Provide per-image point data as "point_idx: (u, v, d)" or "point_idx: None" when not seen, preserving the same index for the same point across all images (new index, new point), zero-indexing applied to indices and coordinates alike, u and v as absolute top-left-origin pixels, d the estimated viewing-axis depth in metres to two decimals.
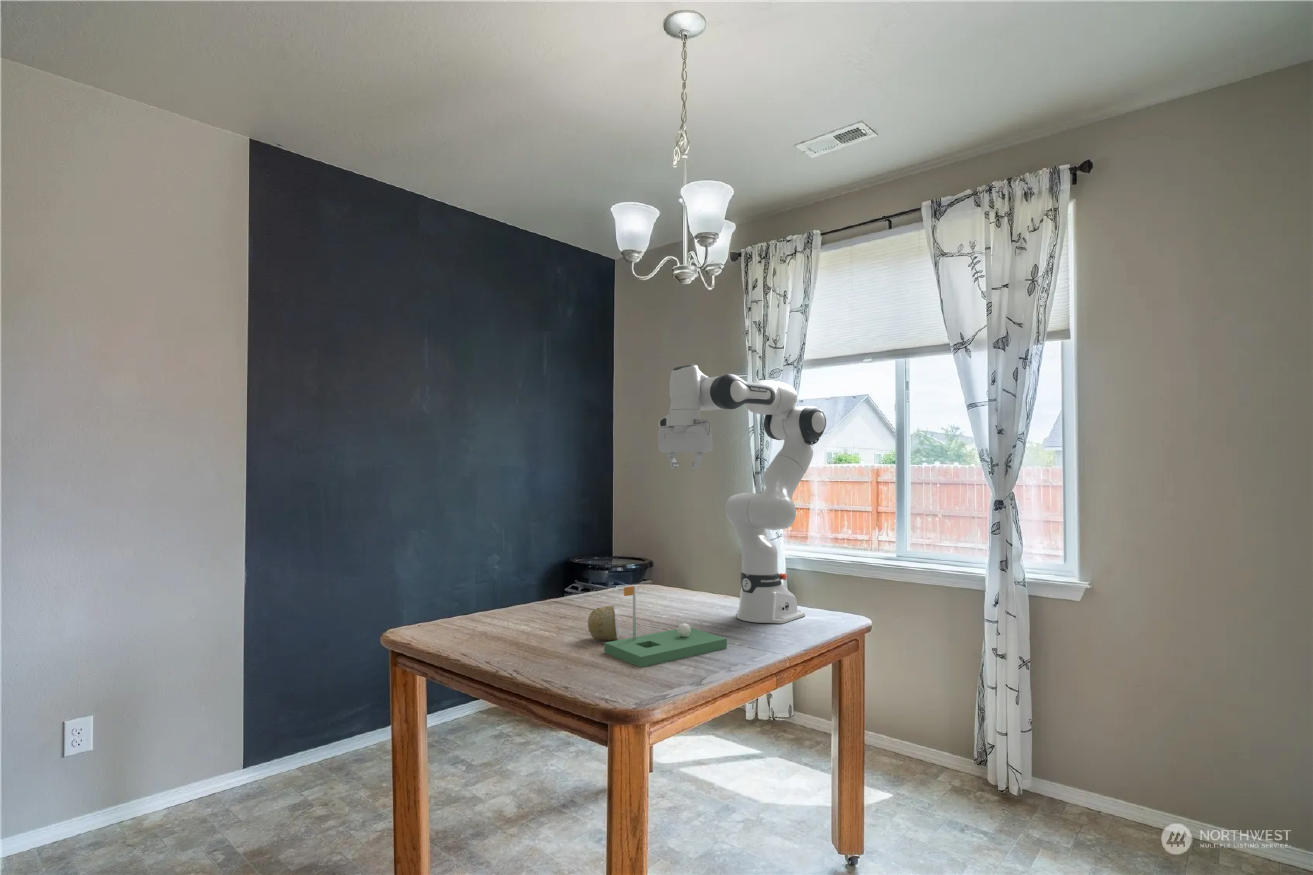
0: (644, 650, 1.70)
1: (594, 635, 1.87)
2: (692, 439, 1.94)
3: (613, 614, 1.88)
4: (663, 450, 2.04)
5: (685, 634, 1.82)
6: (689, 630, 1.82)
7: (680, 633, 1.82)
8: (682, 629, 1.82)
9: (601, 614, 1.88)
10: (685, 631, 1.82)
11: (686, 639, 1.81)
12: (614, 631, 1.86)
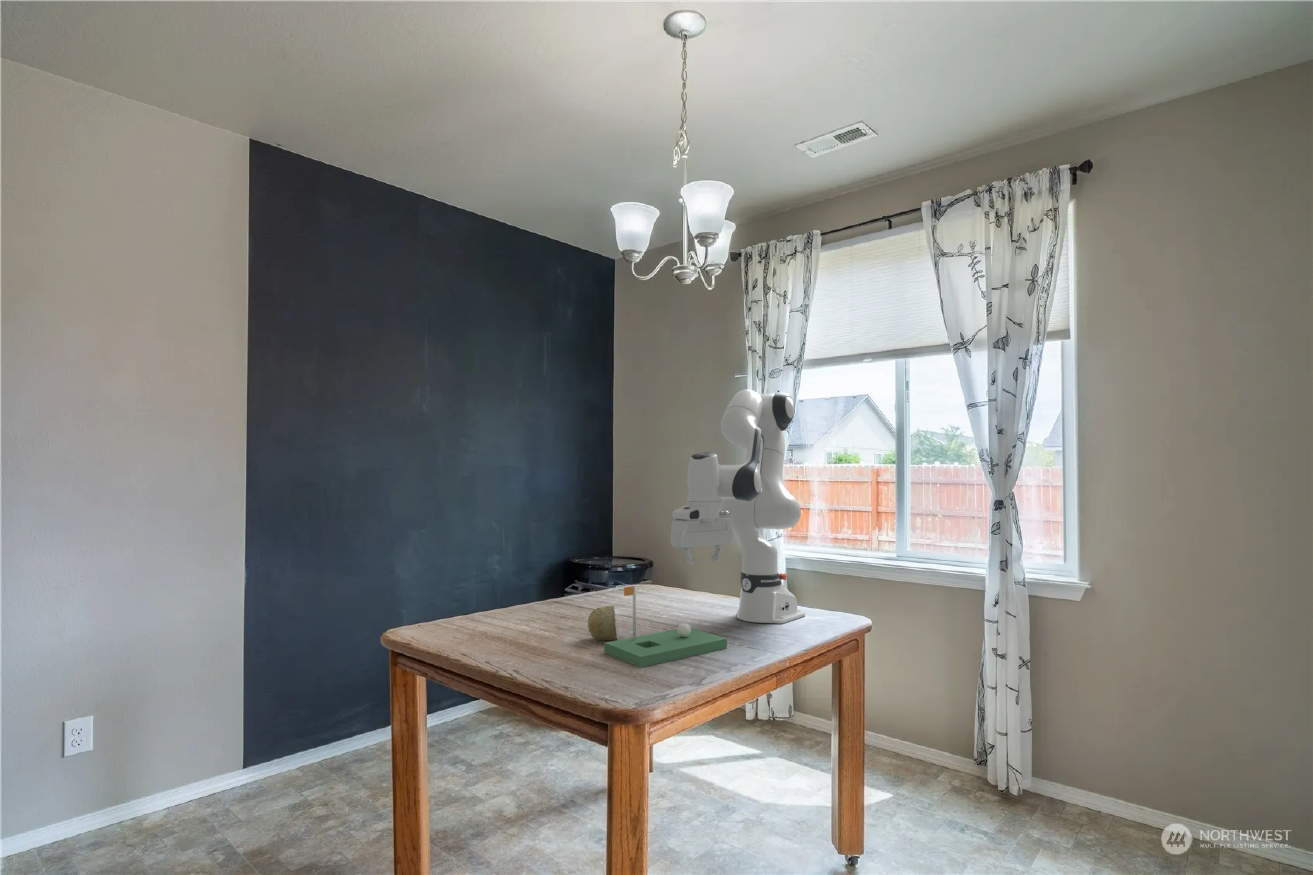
0: (644, 650, 1.70)
1: (594, 635, 1.87)
2: (721, 532, 1.90)
3: (613, 614, 1.88)
4: (686, 545, 1.83)
5: (685, 634, 1.82)
6: (689, 630, 1.82)
7: (680, 633, 1.82)
8: (682, 629, 1.82)
9: (601, 614, 1.88)
10: (685, 631, 1.82)
11: (686, 639, 1.81)
12: (614, 631, 1.86)
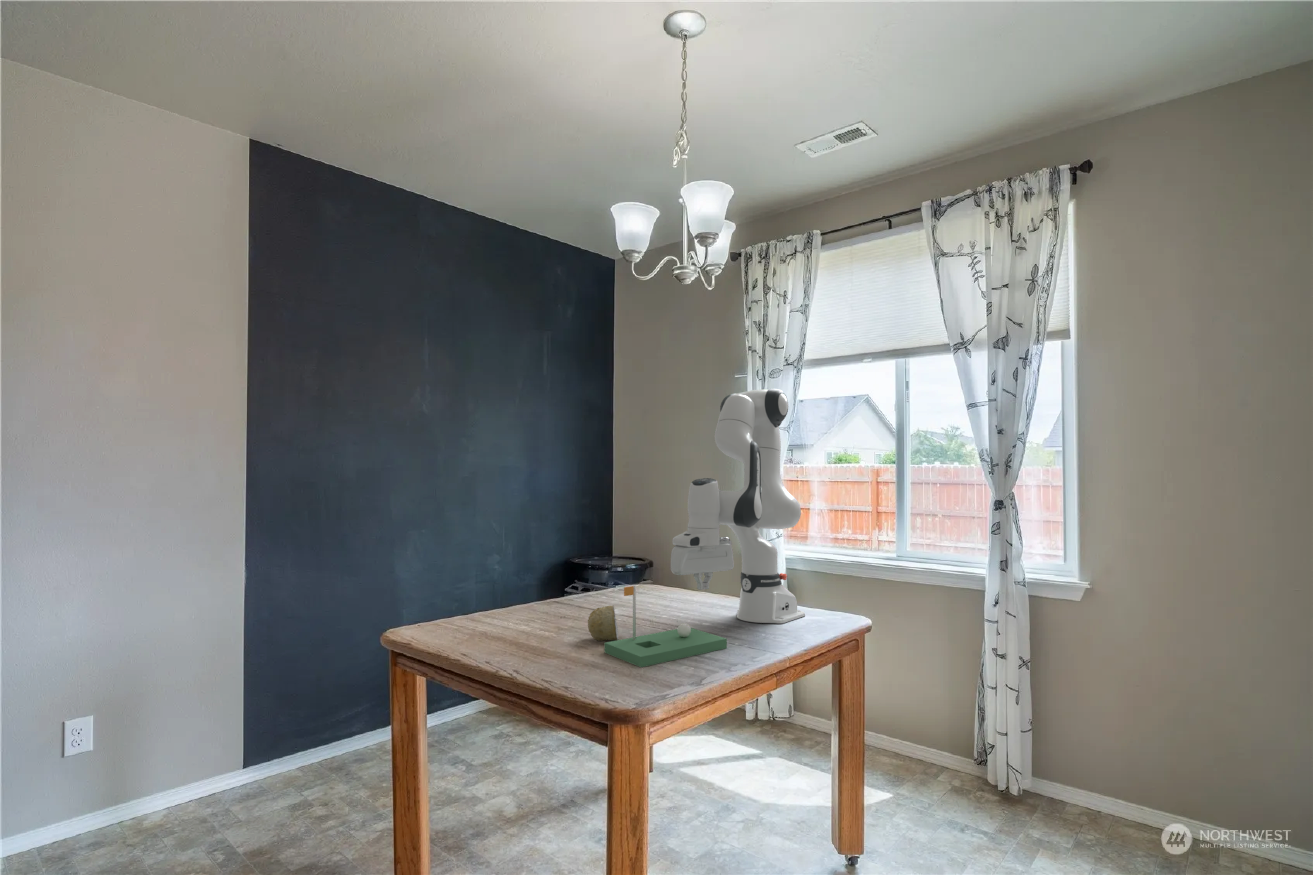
0: (644, 650, 1.70)
1: (594, 635, 1.87)
2: (721, 558, 1.90)
3: (613, 614, 1.88)
4: (686, 572, 1.82)
5: (685, 634, 1.82)
6: (689, 630, 1.82)
7: (680, 633, 1.82)
8: (682, 629, 1.82)
9: (601, 614, 1.88)
10: (685, 631, 1.82)
11: (686, 639, 1.81)
12: (614, 631, 1.86)
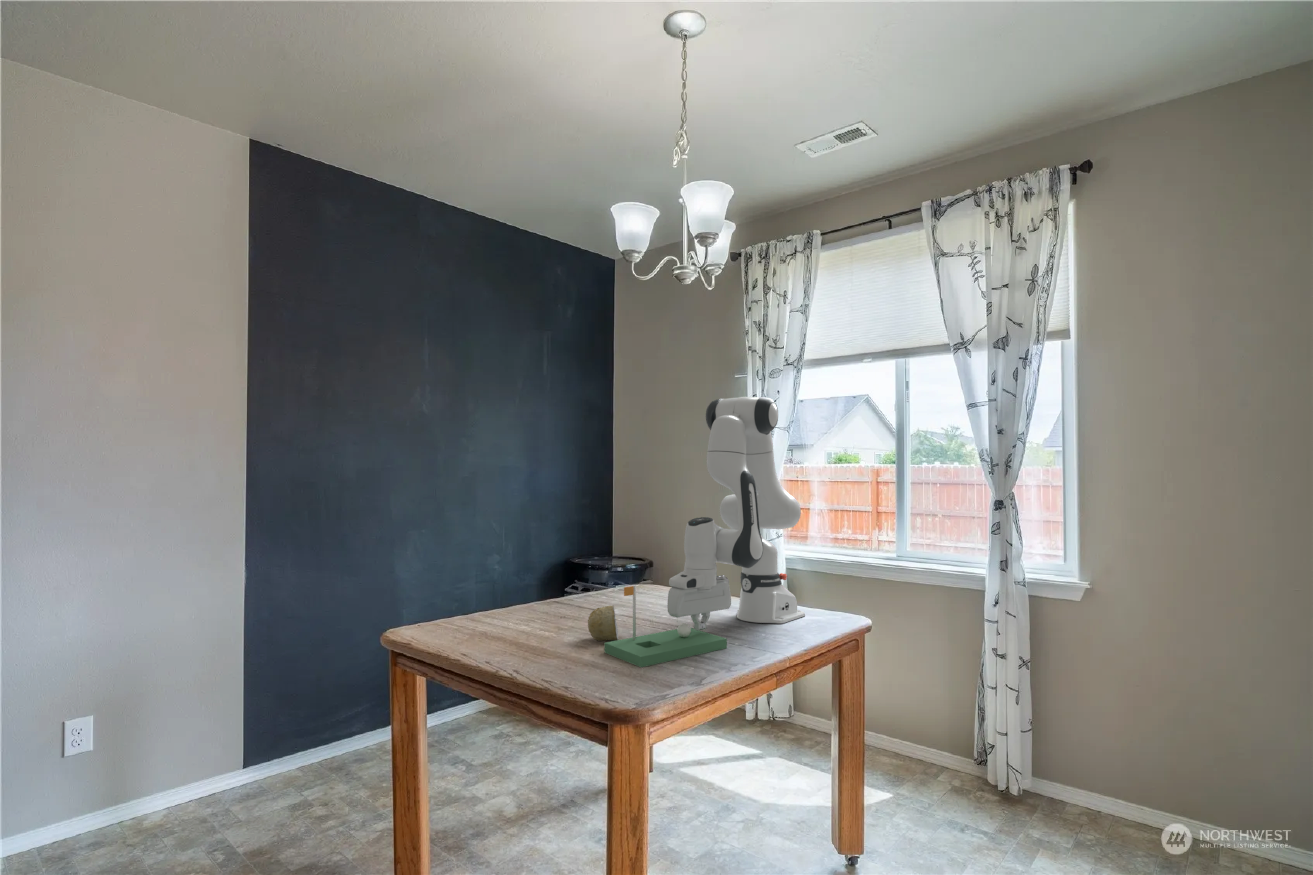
0: (644, 650, 1.70)
1: (594, 635, 1.87)
2: (719, 597, 1.89)
3: (613, 614, 1.88)
4: (683, 614, 1.81)
5: (685, 634, 1.82)
6: (689, 630, 1.82)
7: (680, 633, 1.82)
8: (682, 629, 1.82)
9: (601, 614, 1.88)
10: (685, 631, 1.82)
11: (686, 639, 1.81)
12: (614, 631, 1.86)
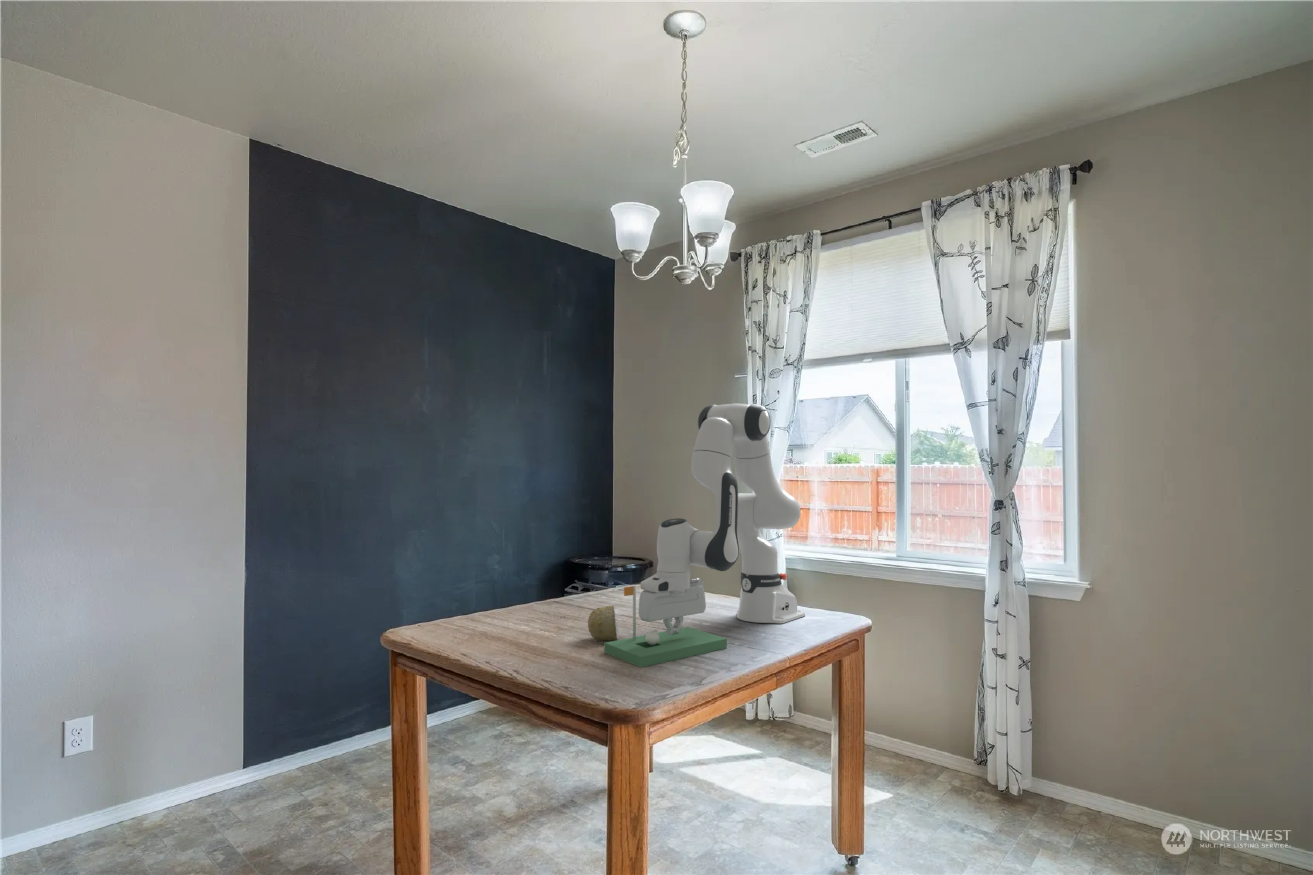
0: (644, 650, 1.70)
1: (594, 635, 1.87)
2: (692, 601, 1.83)
3: (613, 614, 1.88)
4: (654, 619, 1.75)
5: (652, 641, 1.75)
6: (658, 638, 1.76)
7: (648, 638, 1.76)
8: (651, 635, 1.75)
9: (601, 614, 1.88)
10: (654, 638, 1.75)
11: (686, 639, 1.81)
12: (614, 631, 1.86)
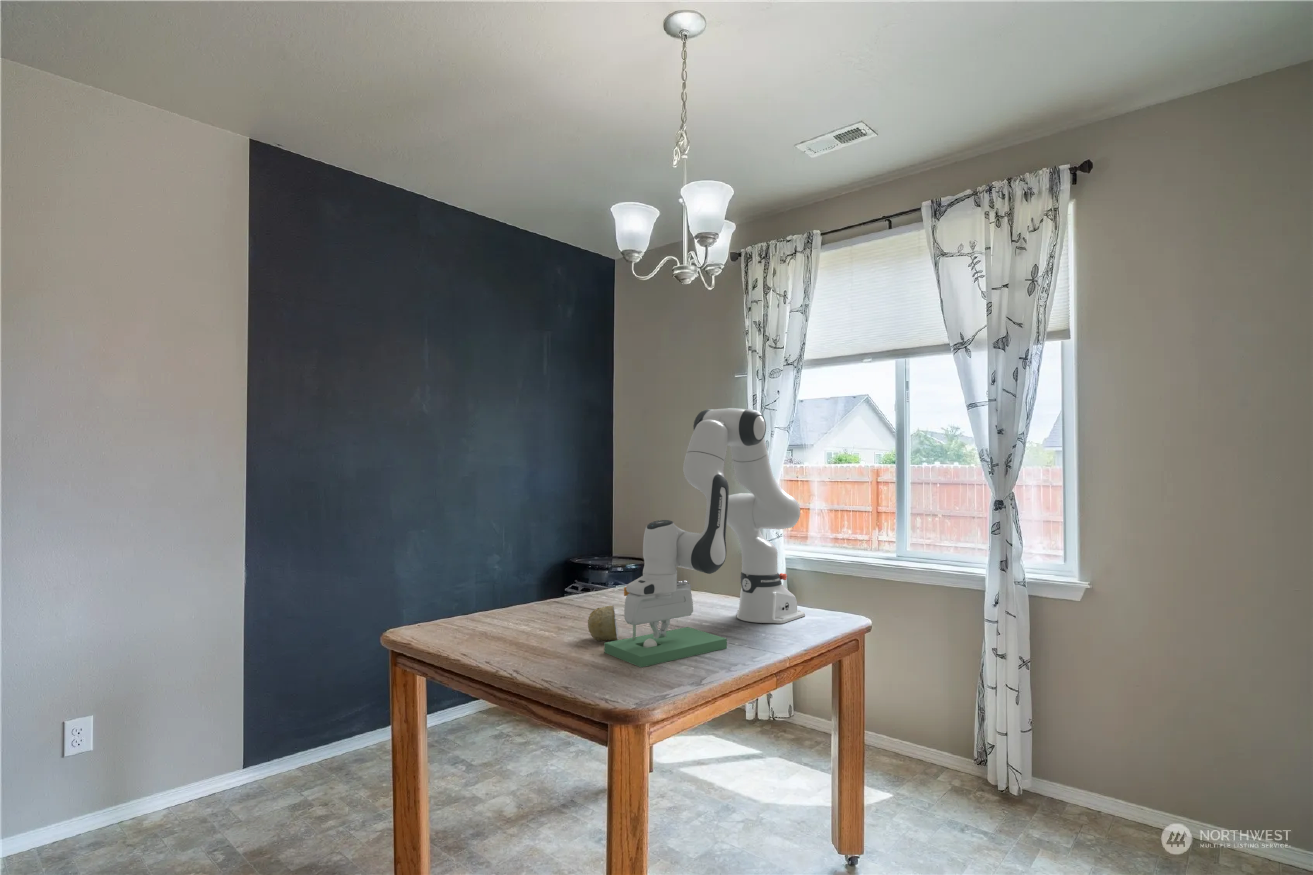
0: (644, 650, 1.70)
1: (594, 635, 1.87)
2: (679, 604, 1.80)
3: (613, 614, 1.88)
4: (640, 622, 1.73)
5: None
6: (655, 645, 1.75)
7: None
8: (648, 647, 1.75)
9: (601, 614, 1.88)
10: None
11: (686, 639, 1.81)
12: (614, 631, 1.86)
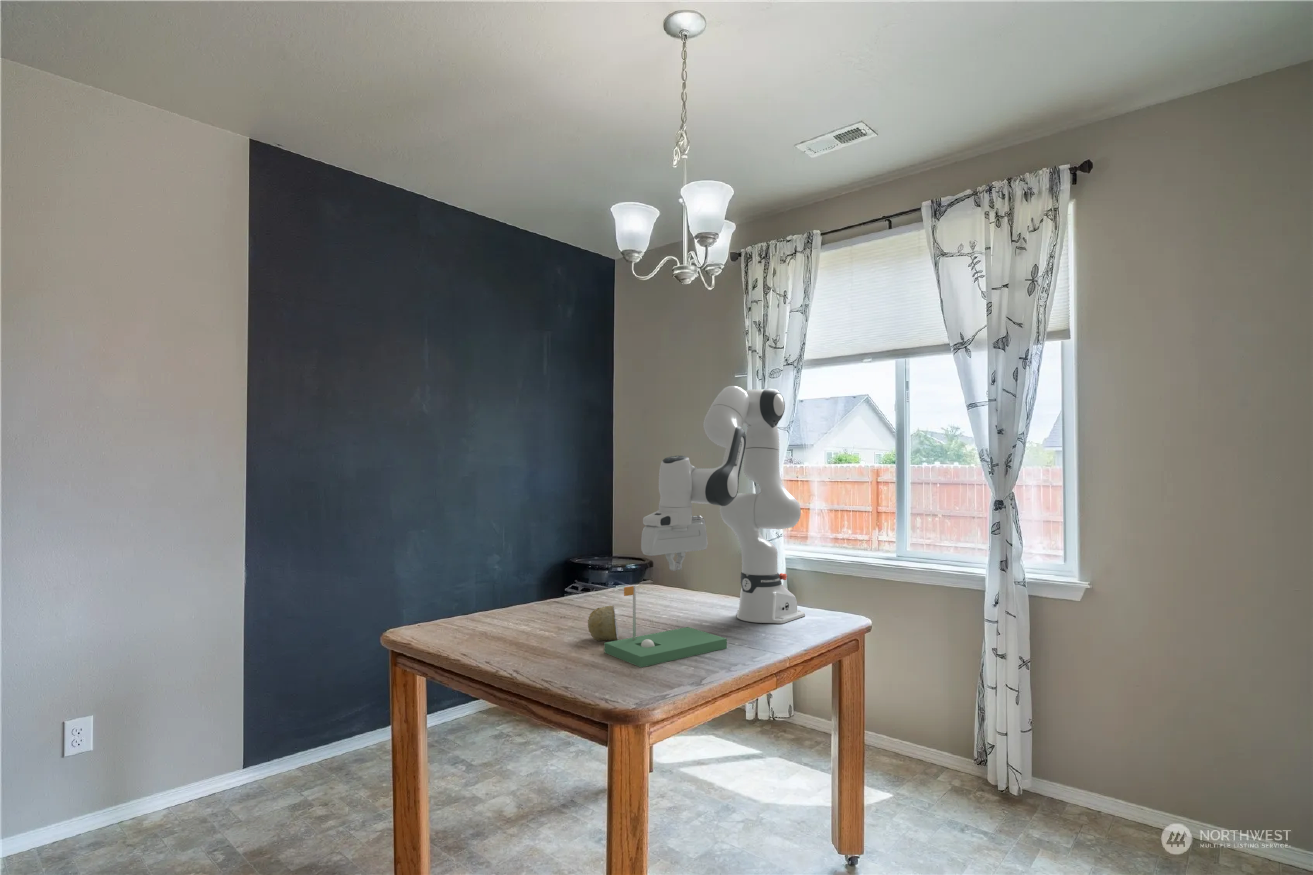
0: (644, 650, 1.70)
1: (594, 635, 1.87)
2: (694, 537, 1.84)
3: (613, 614, 1.88)
4: (657, 553, 1.76)
5: None
6: (652, 646, 1.75)
7: None
8: None
9: (601, 614, 1.88)
10: None
11: (686, 639, 1.81)
12: (614, 631, 1.86)
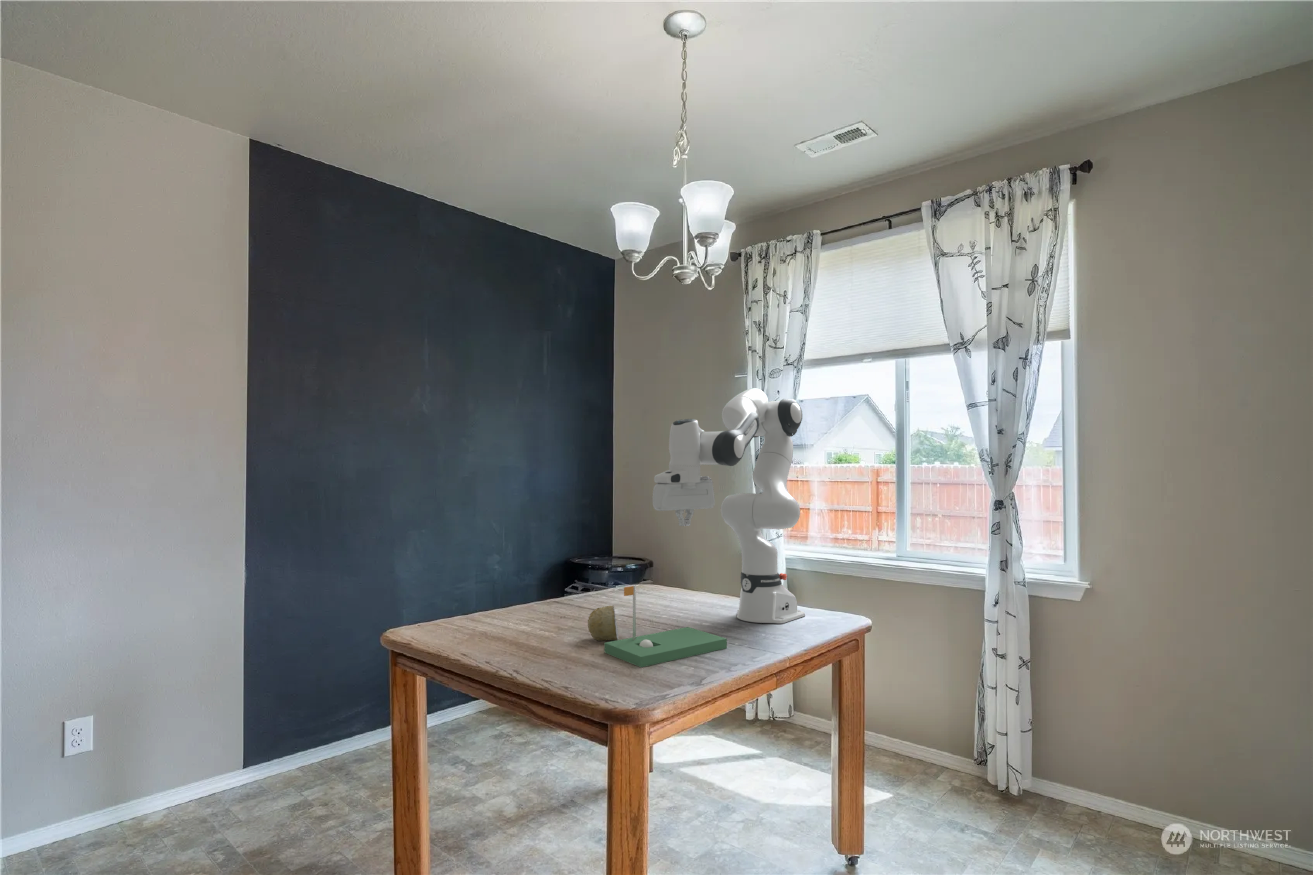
0: (644, 650, 1.70)
1: (594, 635, 1.87)
2: (702, 496, 1.96)
3: (613, 614, 1.88)
4: (667, 508, 1.88)
5: None
6: (650, 646, 1.74)
7: None
8: None
9: (601, 614, 1.88)
10: None
11: (686, 639, 1.81)
12: (614, 631, 1.86)
